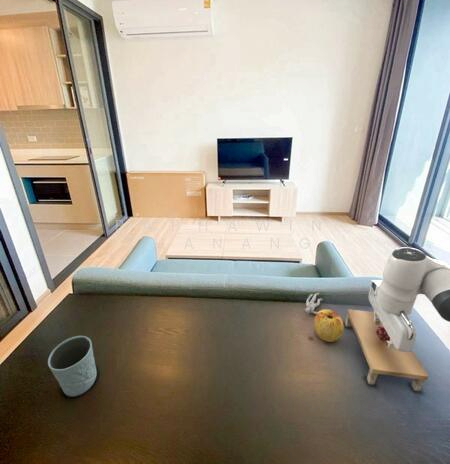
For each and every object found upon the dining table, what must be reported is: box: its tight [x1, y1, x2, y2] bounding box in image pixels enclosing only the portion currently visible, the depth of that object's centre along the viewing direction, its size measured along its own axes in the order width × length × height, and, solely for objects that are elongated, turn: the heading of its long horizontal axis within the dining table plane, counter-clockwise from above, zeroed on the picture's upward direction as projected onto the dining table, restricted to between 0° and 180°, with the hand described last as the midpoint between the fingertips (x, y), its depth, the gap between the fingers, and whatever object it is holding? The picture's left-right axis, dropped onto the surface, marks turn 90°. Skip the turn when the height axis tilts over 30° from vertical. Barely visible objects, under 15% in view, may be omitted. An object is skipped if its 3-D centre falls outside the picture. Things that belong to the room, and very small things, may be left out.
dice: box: [376, 326, 390, 341], centre depth 76 cm, size 4×4×4 cm
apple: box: [313, 308, 344, 343], centre depth 83 cm, size 9×9×10 cm
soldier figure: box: [303, 292, 324, 315], centre depth 96 cm, size 8×5×12 cm
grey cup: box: [47, 335, 98, 397], centre depth 68 cm, size 10×10×12 cm
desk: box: [344, 308, 429, 392], centre depth 78 cm, size 14×22×6 cm, turn 172°
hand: (383, 334), depth 76 cm, fingers open, 7 cm apart
